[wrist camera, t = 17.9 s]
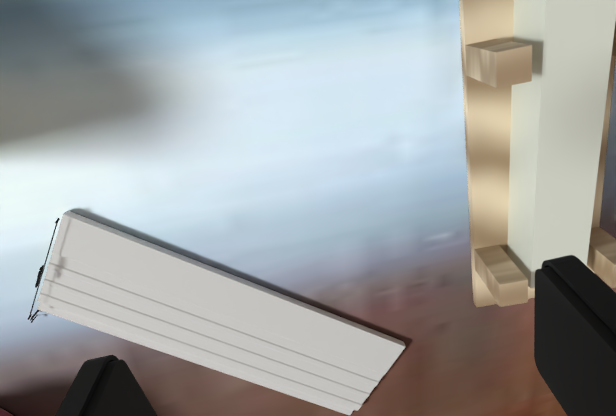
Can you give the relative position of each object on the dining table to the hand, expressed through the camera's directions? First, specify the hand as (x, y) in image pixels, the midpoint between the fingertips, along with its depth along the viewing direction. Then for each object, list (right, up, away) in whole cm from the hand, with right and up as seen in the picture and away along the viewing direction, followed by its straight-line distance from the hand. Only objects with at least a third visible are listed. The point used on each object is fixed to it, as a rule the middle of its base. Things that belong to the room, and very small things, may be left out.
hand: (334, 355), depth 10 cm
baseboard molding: (-8, -7, +31) cm, 33 cm away
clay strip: (+16, +8, +22) cm, 29 cm away
